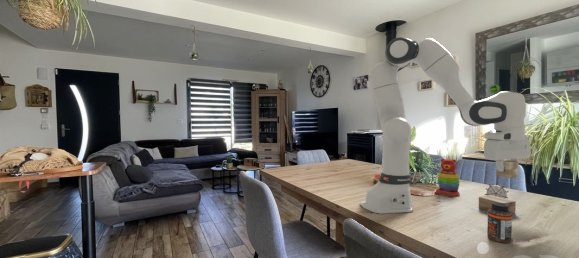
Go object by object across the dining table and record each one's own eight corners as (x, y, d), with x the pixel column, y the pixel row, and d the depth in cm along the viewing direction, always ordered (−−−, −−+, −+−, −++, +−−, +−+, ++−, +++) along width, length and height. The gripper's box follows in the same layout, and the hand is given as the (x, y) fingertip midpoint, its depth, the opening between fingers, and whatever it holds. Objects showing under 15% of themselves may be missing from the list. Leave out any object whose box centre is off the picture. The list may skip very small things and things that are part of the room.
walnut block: (502, 216, 98) (503, 203, 97) (478, 208, 106) (478, 196, 106) (515, 214, 100) (515, 201, 100) (490, 206, 108) (490, 195, 108)
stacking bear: (432, 193, 133) (433, 159, 132) (439, 190, 139) (440, 157, 139) (457, 198, 125) (457, 161, 124) (463, 194, 131) (463, 159, 131)
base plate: (502, 222, 95) (502, 218, 95) (470, 211, 107) (470, 208, 107) (524, 217, 99) (524, 214, 99) (491, 207, 111) (491, 205, 110)
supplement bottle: (482, 235, 84) (482, 201, 84) (499, 234, 85) (499, 200, 85) (498, 244, 78) (499, 207, 78) (516, 243, 79) (517, 206, 79)
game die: (501, 211, 117) (517, 197, 111) (482, 203, 119) (496, 189, 113) (496, 196, 124) (510, 182, 118) (477, 189, 126) (491, 175, 120)
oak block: (509, 178, 96) (510, 161, 96) (496, 175, 100) (497, 160, 100) (517, 177, 97) (518, 161, 97) (504, 174, 102) (505, 159, 101)
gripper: (517, 134, 104) (516, 168, 105) (481, 134, 98) (479, 170, 99) (537, 135, 98) (534, 171, 99) (498, 135, 92) (497, 173, 93)
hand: (506, 170), depth 99 cm, fingers closed on oak block, 4 cm apart
